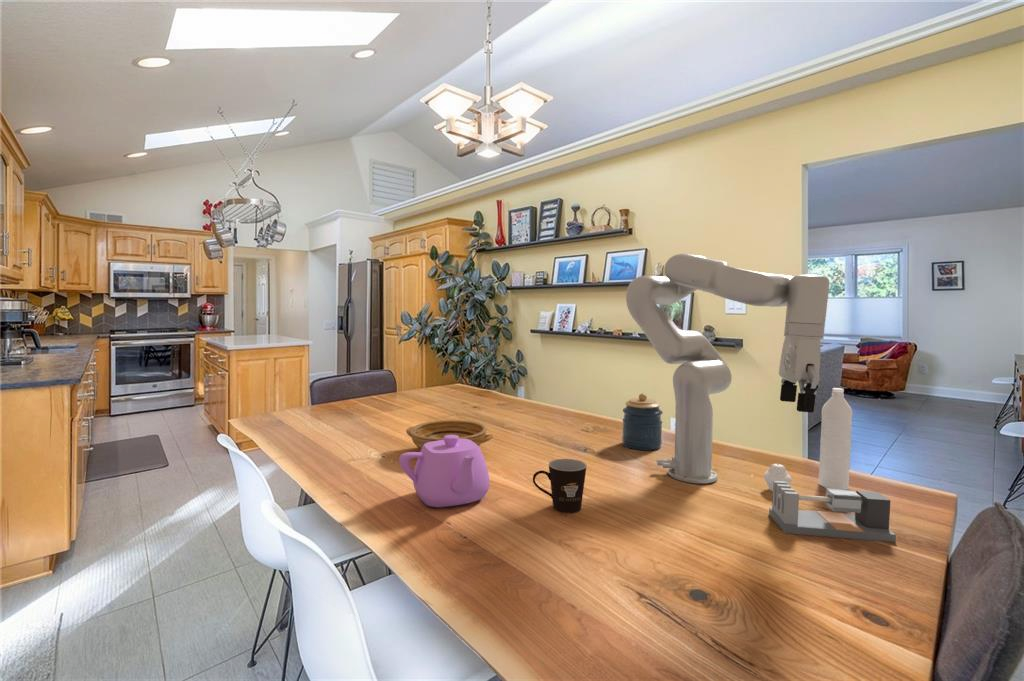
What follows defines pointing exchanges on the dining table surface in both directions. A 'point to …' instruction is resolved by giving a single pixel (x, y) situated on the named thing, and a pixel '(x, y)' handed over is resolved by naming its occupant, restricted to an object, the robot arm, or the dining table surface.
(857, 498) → the sleeve
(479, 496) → the teapot
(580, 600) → the dining table surface
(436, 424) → the ceramic bowl
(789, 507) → the board
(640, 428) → the canister
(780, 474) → the white rounded ridged piece
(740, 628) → the dining table surface
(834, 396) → the water bottle
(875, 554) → the dining table surface
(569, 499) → the coffee mug
